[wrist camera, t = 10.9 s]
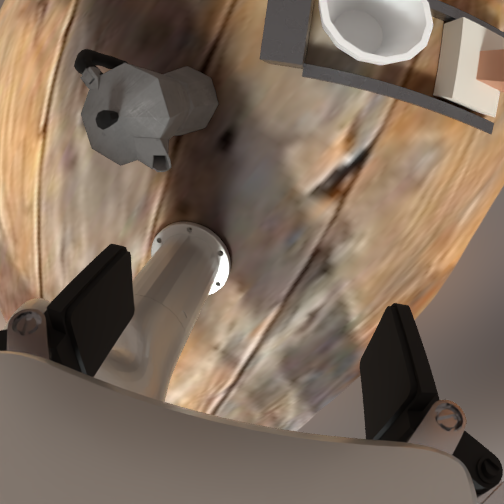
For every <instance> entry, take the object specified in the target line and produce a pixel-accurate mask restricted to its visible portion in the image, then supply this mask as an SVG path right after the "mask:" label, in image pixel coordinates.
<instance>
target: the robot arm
mask: <svg viewBox="0 0 504 504" xmlns="http://www.w3.org/2000/svg"><path fill="white" fill-rule="evenodd" d="M151 257H152V258H151V259H150V260H149V261H148V262H147V264H146V265H145V266H144V267H143V269H142V270H141V271H140V272H139V273H138V275H137V276H136V277H135V278H134V280H133V281H132V269H131V255H130V252H128V251H127V249H126V247H124V246H119V245H115V244H110V245H109V246H108V247H107V248H106V249H104V250H103V251H102V252H101V253H100V254H99V255H98V256H97V257H96V258H95V259H94V260H93V261H92V262H91V263H90V264H89V265H88V266H87V267H86V268H85V269H84V270H82V271H81V272H80V273H79V274H78V275H77V276H76V277H75V278H74V279H73V280H72V281H71V282H70V283H69V284H68V285H67V286H66V287H65V288H64V289H63V290H62V291H61V292H60V294H59V295H58V296H57V297H56V298H55V299H54V300H53V301H52V302H50V301H48V300H45V299H41V298H35V299H31V300H29V301H27V302H26V303H24V304H23V305H22V306H21V307H19V308H18V309H17V311H16V312H15V313H14V314H13V315H12V317H11V318H10V320H9V321H8V323H7V324H6V326H5V327H4V329H3V330H1V331H0V504H504V482H502V480H501V478H502V471H503V469H502V465H501V463H500V461H499V459H498V458H497V457H496V456H495V455H494V454H493V453H492V452H490V451H489V450H488V449H487V448H485V447H484V446H483V445H482V444H480V443H479V442H478V441H477V440H476V439H474V438H473V437H472V436H470V435H469V434H468V433H467V432H466V431H465V428H466V424H467V421H466V416H465V413H464V411H463V410H462V408H461V407H460V406H458V405H457V404H456V403H454V402H453V401H450V400H446V399H444V400H439V397H438V393H437V389H436V386H435V382H434V379H433V375H432V372H431V369H430V365H429V363H428V359H427V356H426V353H425V350H424V347H423V344H422V341H421V338H420V335H419V332H418V329H417V326H416V323H415V320H414V318H413V315H412V312H411V310H410V307H409V306H408V305H402V304H397V303H394V304H392V306H388V307H387V308H386V310H385V312H384V314H383V316H382V318H381V320H380V322H379V324H378V326H377V328H376V330H375V332H374V334H373V336H372V338H371V340H370V342H369V344H368V346H367V348H366V350H365V352H364V354H363V356H362V358H361V361H360V374H361V382H362V393H363V404H364V415H365V416H364V417H365V430H366V439H357V438H346V437H336V436H327V435H318V434H310V433H303V432H296V431H289V430H283V429H277V428H271V427H266V426H260V425H255V424H250V423H245V422H240V421H236V420H231V419H227V418H222V417H218V416H214V415H210V414H206V413H202V412H198V411H194V410H190V409H187V408H183V407H180V406H176V405H173V404H169V403H166V402H165V397H166V393H167V389H168V385H169V382H170V379H171V376H172V373H173V371H174V368H175V366H176V363H177V361H178V359H179V356H180V354H181V352H182V350H183V348H184V346H185V343H186V341H187V339H188V337H189V335H190V333H191V330H192V328H193V326H194V324H195V322H196V320H197V318H198V316H199V313H200V311H201V309H202V307H203V305H204V303H205V301H206V299H207V297H208V295H209V294H212V293H214V292H216V291H218V290H219V289H220V288H222V286H223V285H224V284H225V283H226V281H227V279H228V276H229V273H230V269H231V261H230V256H229V253H228V250H227V248H226V246H225V244H224V243H223V242H222V240H221V239H220V238H219V237H218V236H217V235H216V234H215V233H214V232H213V231H211V230H209V229H208V228H206V227H204V226H202V225H199V224H197V223H192V222H176V223H172V224H170V225H168V226H166V227H165V228H163V229H162V230H161V231H160V232H159V233H158V234H157V236H156V237H155V239H154V241H153V244H152V249H151Z"/></svg>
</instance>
